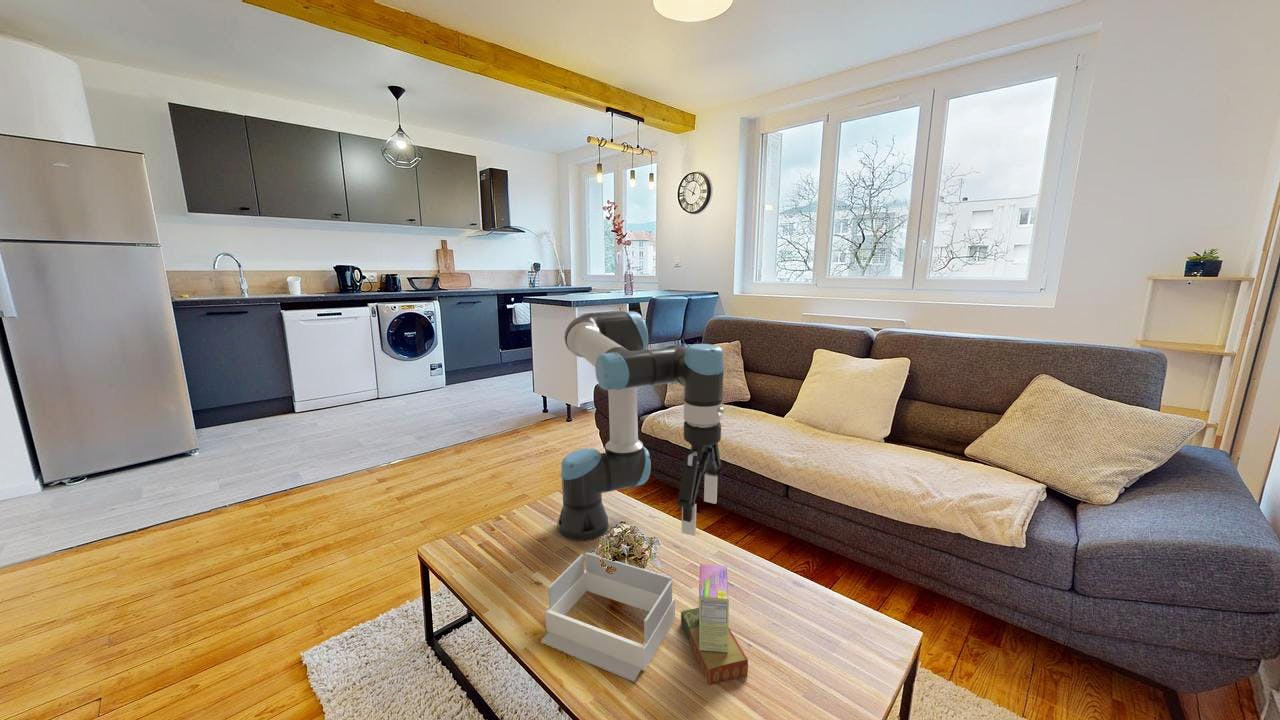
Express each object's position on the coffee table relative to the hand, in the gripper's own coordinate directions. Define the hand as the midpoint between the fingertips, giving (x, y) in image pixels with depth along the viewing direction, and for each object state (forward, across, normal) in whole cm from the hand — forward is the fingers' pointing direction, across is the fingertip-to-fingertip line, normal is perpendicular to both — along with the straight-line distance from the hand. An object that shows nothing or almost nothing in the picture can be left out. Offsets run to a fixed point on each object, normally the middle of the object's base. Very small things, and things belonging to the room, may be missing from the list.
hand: (700, 516), depth 98 cm
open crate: (+25, -11, +16) cm, 32 cm away
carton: (+26, -7, -6) cm, 27 cm away
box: (+21, -6, -6) cm, 23 cm away
